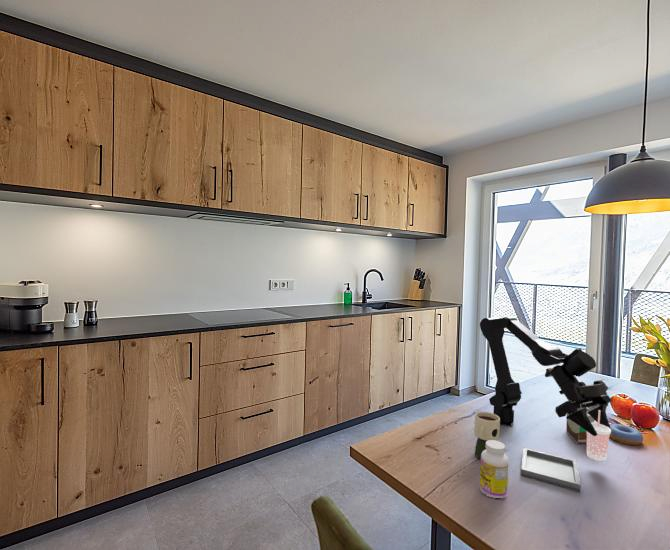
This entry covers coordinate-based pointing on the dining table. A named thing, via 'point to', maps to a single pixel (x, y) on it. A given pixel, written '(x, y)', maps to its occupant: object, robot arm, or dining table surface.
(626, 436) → the doughnut
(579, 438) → the food container
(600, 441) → the beverage cup
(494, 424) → the character mug
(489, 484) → the supplement bottle
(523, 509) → the dining table surface
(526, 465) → the tray
